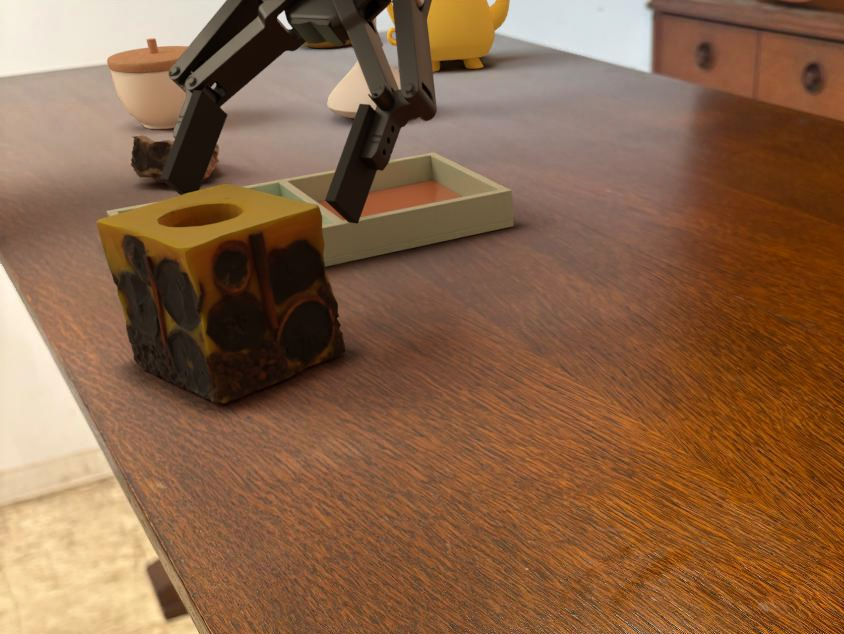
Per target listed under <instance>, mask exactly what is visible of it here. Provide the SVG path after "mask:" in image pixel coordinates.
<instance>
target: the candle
mask: <svg viewBox="0 0 844 634" xmlns="http://www.w3.org/2000/svg"><path fill="white" fill-rule="evenodd" d="M156 202H157V203H153V202H152V203H153V204H150V205H146V206H143V207H139V208H136V209H133V210H130V211H127V212H123V213H120V214H116V215H113V216H109V217H108V216H106V217H102V218H99V219H98V220H96V225H97V226H96V227H97V228H98V233H99V238H100V242H101V245H102V249H103V252H104V255H105V256H104V257H105V258H106V262H107V265H108V269H109V271H110V274H111V276H112V280H113V283H114V284H115V285H116V289H117V296H118V299H119V302H120V305H121V308H122V311H123V315H124V319H125V329H126V333H127V334H126V335H127V337H128V343H130V346H131V350H132V353H133V360H134V362H135V363H136V364H137V366H139V367H140V368H141V369H142V370H144V371H147V372H150V374H152V375H155V376H157V377H160V378H162V379H163V380H165V381H167V382H169V383H172V384H174V385H175V386H179V387H180V388H182V389H185V390H187V391H190V392H193V393H195V394H197V395H198V396H200V397H201V398H203V399H205V400H210V401H211V402H212V403H214V404H228V403H231V402H234V401H235V402H236V401H238V400H239V399H241V398H244V397H246V396H248V395H251V394H253V393H255V392H258V391H260V390H263V389H265V388H268V387H271V386H272V385H273V386H274V385H276V384H278V383H280V382H283V381H285V380H287V379H290V378H291V377H293V376H295V375H296V374H298V373H301V372H302V371H303V370H305V369H306V368H309V367H313V366H315V365H318V364H321V363H324V362H327V361H330V360H333V359H337V358H339V357H341V356H342V355H343V354H345V353H346V345H345V340H344V337H343V335H344V333H343V332H342V330H341V326H342V324H341V323H340V321H339V319H338V318H339V317H340V315H339V304H338V301H337V299H336V297H335V294H334V291H333V288H332V285H331V283H330V279H329V277H328V273H327V271H326V267H325V262H324V257H323V254H324V247H325V243H324V238H323V232H322V214H321V211H320V208H319V206H318V205H316V204H310V203H306V202H302V201H298V200H293V199H289V198H285V197H280V196H276V195H272V194H268V193H264V192H261V191H257V190H253V189H249V188H245V187H243V186H241V185H236V184H232V183H221V184H219V185H213V186H209V187H206V188H202V189H201V188H200V189H199V190H198V191H194V192H190V193H186V194H183V195H180V194H179V195H177V196H174V197H170V198H167V199H163V200H160V202H159V201H156Z"/></svg>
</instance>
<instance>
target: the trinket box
mask: <svg viewBox="0 0 844 634" xmlns="http://www.w3.org/2000/svg"><path fill="white" fill-rule="evenodd" d="M146 44H147V47H143V48H142V47H141V48H135V49H130V50H124V51H121V52H117V53H114V54H112V55H109V57H107V60H106V63H107V67H108V69H109V70H110V74H111V79H112V83H113V85H114V88H115V92H116V94H117V96H118V98H119V100H120V102H121V104H122V105H123V107H124V108H125V110H126V111H127V112H128V113H129V115H131V116H132V117H133V118H134V119H135V120H136V121H138V122H139V123H141V124H142V126H143V127H144V128H145V129H148V130H149V129H150V130H169V129H174V127H175V124H176V123H177V119H178V117H179V114H180V111H181V109H182V106H183V104H184V101H185V98H186V93H185V92H184V91H183V90H182V89H181V88H180V87H179V86H178V85H177V84H176V83H174V82H173V81H172V80H171V79H170V78H169V74H168V73H169V70H170V69H171V67H172V66H173V65H174V63H175V62H176V61H177V60H178V59H179V57H180V56H181V55H182V54H183V53H184V51H185V50H186V49H187V48H188V46H189V45H188V46H187V45H164V46H163V45H161V46H158V44H157V39H156V38H154V37H153V38H147V39H146ZM192 73H193V72H192Z"/></svg>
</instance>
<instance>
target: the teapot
mask: <svg viewBox="0 0 844 634" xmlns="http://www.w3.org/2000/svg"><path fill="white" fill-rule="evenodd" d="M385 9H386V11H387V13H388V16H389V18H390V20H391V21H392V22H391V23H392V24H393V26H394V27H391V28H389V29H388V30H387V32H386V33H387V34H386V40H387V42H388V44H390V45H391V46H394V47H397V44H396V38H394V37H393V33H395V24H394V14H393V3H392V2H391V3H390V4H389V5H388V6H387V7H386V8H385ZM509 10H510V0H495V2H493V3H492V4H491V5H489V2H488V0H432V2H431V6H430V10H429V14H428V18H427V24H428V33H429V42H430V51H431V60H432V69H433V73H434V72H438V71H440V69H441V61H455V60H460V61H463V64H464V67H465V69H469V70H470V69H473V70H474V69H481V68H484V65H483V63H482V61H481V59H480V58H481V57H485V56H487V55H488V54H489V52H490V51H491V50H492V49H491V48H492V46H493V44H494V41H495V38H496V31H497V30H498V29H499V28H501V27H502V25H504V23H505V21H506V20H507V17H508V15H509Z"/></svg>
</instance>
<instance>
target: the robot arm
mask: <svg viewBox="0 0 844 634" xmlns="http://www.w3.org/2000/svg"><path fill="white" fill-rule="evenodd" d="M391 2H392V5H393V14H394V24H395V26H394V28H395V32H394V35H395V39H396V44H397V46H396V54H397V64H398V72H399V75H400V85H401V89H400V90H399V88H398V86H397V83H396V81H395V78H394V76H393V73H392V71H391V68H390V66H391V65H390V63H389V60H388V58H387V56H386V53H385V51H384V48H383V47H384V43H383V41H382V38H381V35H380V34H379V31H378V29H377V28H378V27H377V25H376V26H375V23H374V19H375V18H376V19H377V17H378V16H379V15H380V14H381V13H382V12H383V11H384V10H386V9H387V8H386V7H387V6H388V5H389V4H390V3H391ZM431 2H432V0H225V2H223V4H222V5H221V6H220V7H219V9H217V11H216V12H215V14H214V15H213V16H212V17H211V19H209V21H208V22H207V23H206V25H204V27H203V28H202V29H201V30H200V32H199V33H198V34H197V36H196V37H195V38H194V39H193V40H192V42H190V44H189V45H188V48H187V49H186V50H185V51H184V53H183V54H182V55H181V56H180V57H179V59H178V60H177V61H176V62H175V63H174V65H173V66H172V67H171V69H170V70H169V73H168V74H169V78H170V79H171V80H172V81H173V82H174V83H176V84H177V85H178V86H179V87H180V88H181V89H182V90H183V91H184V92H185V93H186V98H185V101H184V104H183V106H182V109H181V111H180V114H179V117H178V119H177V123H176V124H175V127H174V128H173V129H172V130H173V131H172V138H174V140H173V141H174V143H173V145H172V148H171V151H170V153H169V156H168V158H167V161H166V164H165V166H164V169H163V171H162V174H161V177H160V179H161V180H162V181H163V182H164V183H163V184H166V185H167V186H168V187H169V188H170V189H172V190H173V191H174V192H176V193H177V194H179V196H180V195H183V194H186V193H190V192H194V191H198V190H201V186H202V185H203V181H204V180H205V179H204V176H205V173H206V171H207V168H208V165H209V163H210V160H211V157H212V155H213V152H214V149H215V147H216V144H218V141H219V139H220V136H221V134H222V131H223V128H224V126H225V123H226V120H227V117H228V113H226V112H225V111H224V110H223V108H222V106H223V105H225V104H226V103H227V102H228V101H229V100H230V99H231V98H233V97H234V96H235V95H236V94H237V93H238V92H239V91H241V90H242V89H243V88H244V87H245V86H247V85H248V84H249V83H250V82H251V81H253V80H254V79H255V78H256V77H257V76H258V75H259V74H261V73H262V72H263V71H264V70H265V69H267V68H268V67H269V66H270V65H272V63H273V62H275V61H276V60H277V59H278V58H279V57H281V56H282V55H283V54H284V53H286V52H296V51H297V50H298V49H299V48H301V47H302V46H304V43H305V42H307V43H309V44H318V43H323V42H329V43H332V44H334V45H345V44H346V41H349V40H350V41H351V44H350V45H351V47H352V49H353V52H354V54H355V57H356V60H357V59H358V62H359V65H360V67H361V70H362V72H363V75H364V78H365V80H366V83H367V85H368V88H369V91H370V93H371V95H370V94H368V96H369V97H370V98H371V100H372V101H373V102H374V103H375V104H376V105H377V106H376V109H375V110H374V109H373V108H372V107H371V105H369V104H360V105H359V107H358V110H357V113H356V116H355V118H353V122H352V124H351V127H350V130H349V131H348V135H347V138H346V141H345V143H344V145H343V149H342V151H341V155H340V157H339V160H338V163H337V165H336V168H335V170H336V171H335V174H334V176H333V179H332V182H331V185H330V187H329V190H328V193H327V196H326V199H325V201H326V202H327V203H328V204H329V205H330V206H331V207H332V208H334V209H335V210H336V211H337V212H338V213H339V214H340V215H341V216H342V217H343V218H344V219H345V220H346V221H347V222H349V223H357V224H358V222H359V219H360V217H361V214H362V211H363V208H364V205H365V203H366V200H367V197H368V194H369V191H370V189H371V186H372V183H373V180H374V177H375V175H376V172H377V170H381V171H383V170H384V169H385V167H386V166H387V165H388V163H389V160H391V157H392V155H393V151H394V149H395V146H396V143H397V140H398V137H399V134H400V133H401V129H402V128H404V127H406V125H408V123H409V121H411V120H412V121H413V120H415V119H420V120H421V121H424V122H428V121H429V122H430V121H431V120H432V119H434V118H435V116H436V115H437V111H438V108H437V98H436V89H435V82H434V81H435V80H434V72H433V69H432V60H431V51H430V42H429V33H428V24H427V18H428V14H429V10H430V6H431ZM282 13H284V15H285V19H286V21H287V23H288V25H289V26H290V27H291V28H290V29H289V28H287V27H286V26H285V25H284V23H283V22H282V21H281V20H280V19H279V18H278V17H279V16H280V15H281V14H282ZM394 24H393V25H394ZM389 65H390V66H389ZM192 72H193V73H192ZM214 85H215V86H214ZM213 86H214V88H212V87H213ZM203 179H204V180H203Z"/></svg>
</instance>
